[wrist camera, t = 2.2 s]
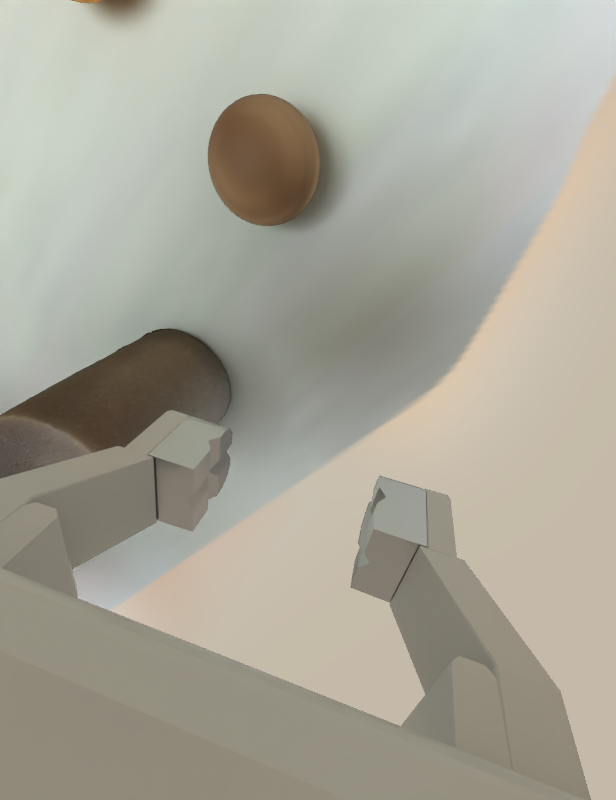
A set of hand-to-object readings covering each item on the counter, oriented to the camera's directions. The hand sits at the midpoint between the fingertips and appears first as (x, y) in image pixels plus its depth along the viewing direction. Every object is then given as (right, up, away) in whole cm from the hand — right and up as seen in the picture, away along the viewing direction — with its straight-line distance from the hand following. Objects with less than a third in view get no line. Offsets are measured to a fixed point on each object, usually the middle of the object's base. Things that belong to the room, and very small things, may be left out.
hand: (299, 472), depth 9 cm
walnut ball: (-2, +14, +12) cm, 19 cm away
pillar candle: (-11, +3, +24) cm, 27 cm away
